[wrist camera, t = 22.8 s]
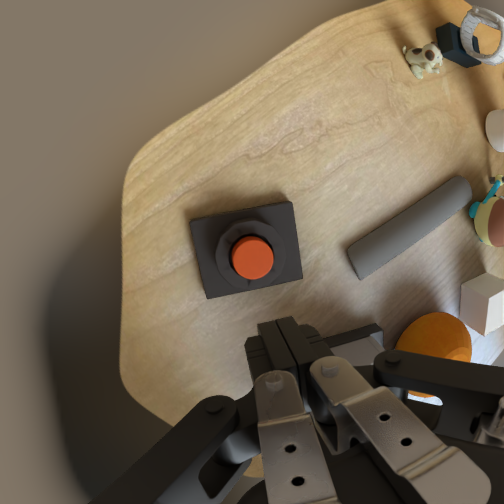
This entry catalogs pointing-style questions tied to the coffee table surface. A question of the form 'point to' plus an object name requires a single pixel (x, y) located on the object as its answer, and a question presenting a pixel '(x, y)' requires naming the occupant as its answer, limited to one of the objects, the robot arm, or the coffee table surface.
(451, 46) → the watch
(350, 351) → the coffee maker
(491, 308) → the white cube
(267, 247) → the round orange push button
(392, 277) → the coffee table surface
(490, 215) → the figurine
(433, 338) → the fruit
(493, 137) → the beverage can
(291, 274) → the control pad
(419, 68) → the toy dog
